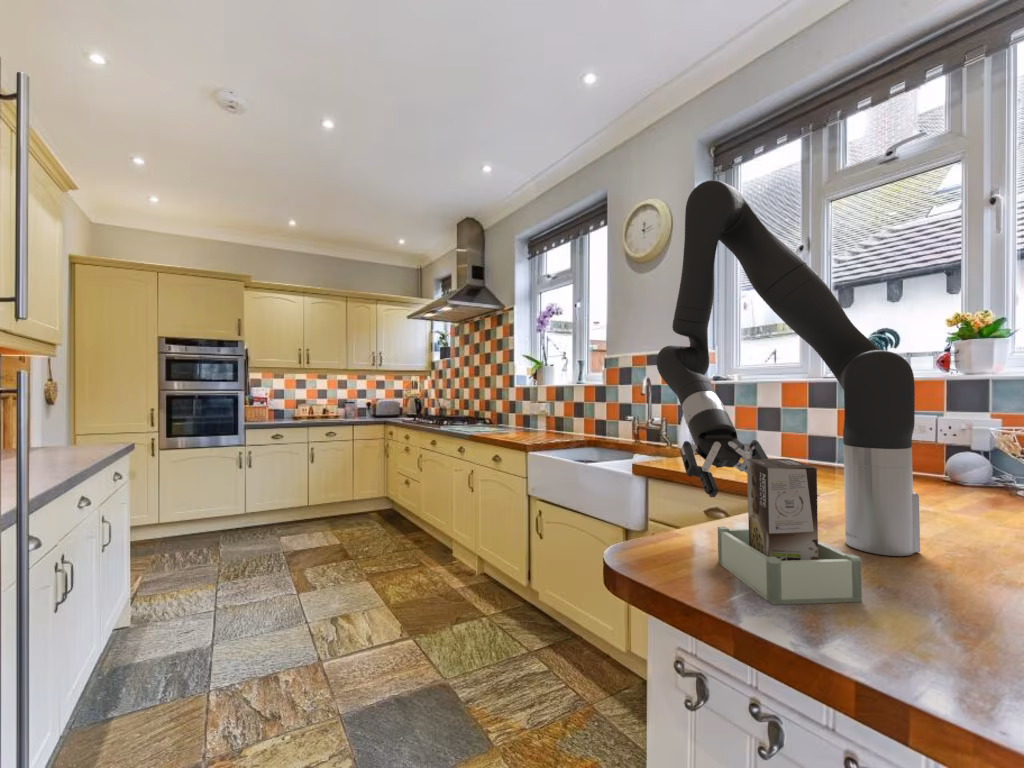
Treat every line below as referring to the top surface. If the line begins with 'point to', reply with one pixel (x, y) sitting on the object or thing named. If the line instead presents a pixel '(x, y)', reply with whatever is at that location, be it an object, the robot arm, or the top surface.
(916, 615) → the top surface
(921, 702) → the top surface
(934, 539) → the top surface
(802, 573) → the crate
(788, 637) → the top surface
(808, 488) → the coffee box
